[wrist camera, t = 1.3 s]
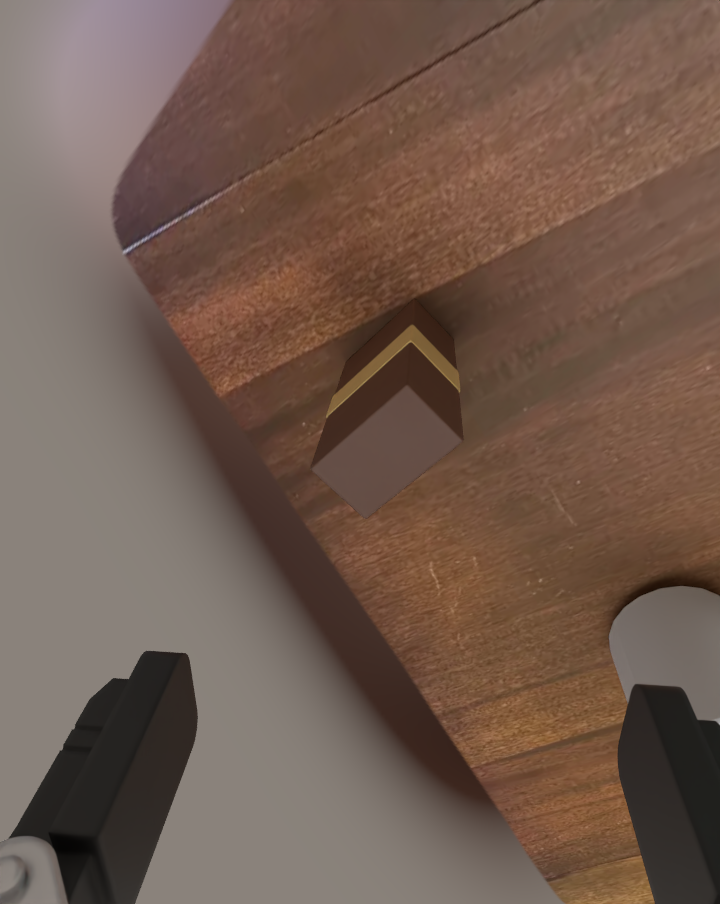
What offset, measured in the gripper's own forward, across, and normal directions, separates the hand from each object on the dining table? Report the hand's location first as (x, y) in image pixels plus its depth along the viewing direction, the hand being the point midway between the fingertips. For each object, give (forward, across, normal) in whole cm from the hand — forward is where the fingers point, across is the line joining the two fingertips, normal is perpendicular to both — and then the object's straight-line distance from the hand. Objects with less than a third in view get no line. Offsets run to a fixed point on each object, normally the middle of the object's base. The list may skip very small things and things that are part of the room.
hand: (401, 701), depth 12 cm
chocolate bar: (+25, +1, +2) cm, 25 cm away
